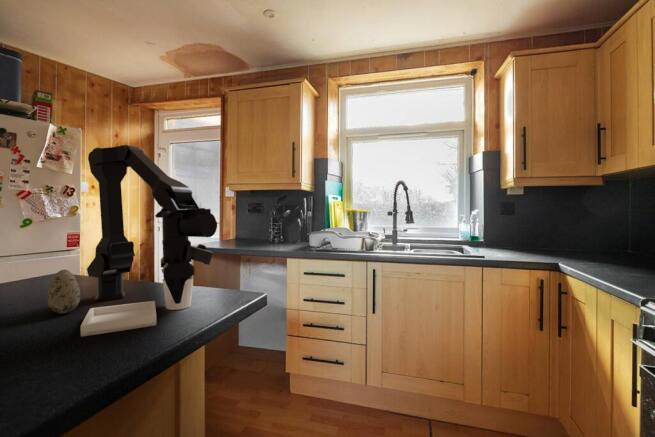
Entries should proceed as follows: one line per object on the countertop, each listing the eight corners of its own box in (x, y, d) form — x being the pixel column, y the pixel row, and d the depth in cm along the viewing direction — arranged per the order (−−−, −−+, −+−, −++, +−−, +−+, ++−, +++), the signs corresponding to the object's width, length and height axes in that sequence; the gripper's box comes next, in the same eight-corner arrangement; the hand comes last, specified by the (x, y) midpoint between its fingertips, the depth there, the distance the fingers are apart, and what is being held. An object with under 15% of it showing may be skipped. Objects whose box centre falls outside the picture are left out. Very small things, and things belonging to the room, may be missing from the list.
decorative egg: (77, 307, 81) (76, 266, 80) (83, 312, 77) (82, 269, 77) (45, 313, 76) (44, 269, 76) (50, 319, 72) (49, 273, 72)
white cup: (156, 308, 80) (156, 279, 80) (180, 301, 86) (180, 274, 86) (175, 312, 77) (175, 281, 77) (199, 304, 83) (199, 276, 83)
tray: (90, 317, 73) (90, 308, 73) (154, 309, 79) (154, 300, 79) (80, 336, 62) (80, 326, 62) (156, 325, 68) (156, 315, 68)
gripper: (217, 237, 77) (218, 305, 77) (204, 233, 93) (205, 288, 93) (163, 239, 71) (164, 312, 72) (160, 234, 88) (161, 293, 88)
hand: (176, 300), depth 81 cm, fingers closed on white cup, 6 cm apart
